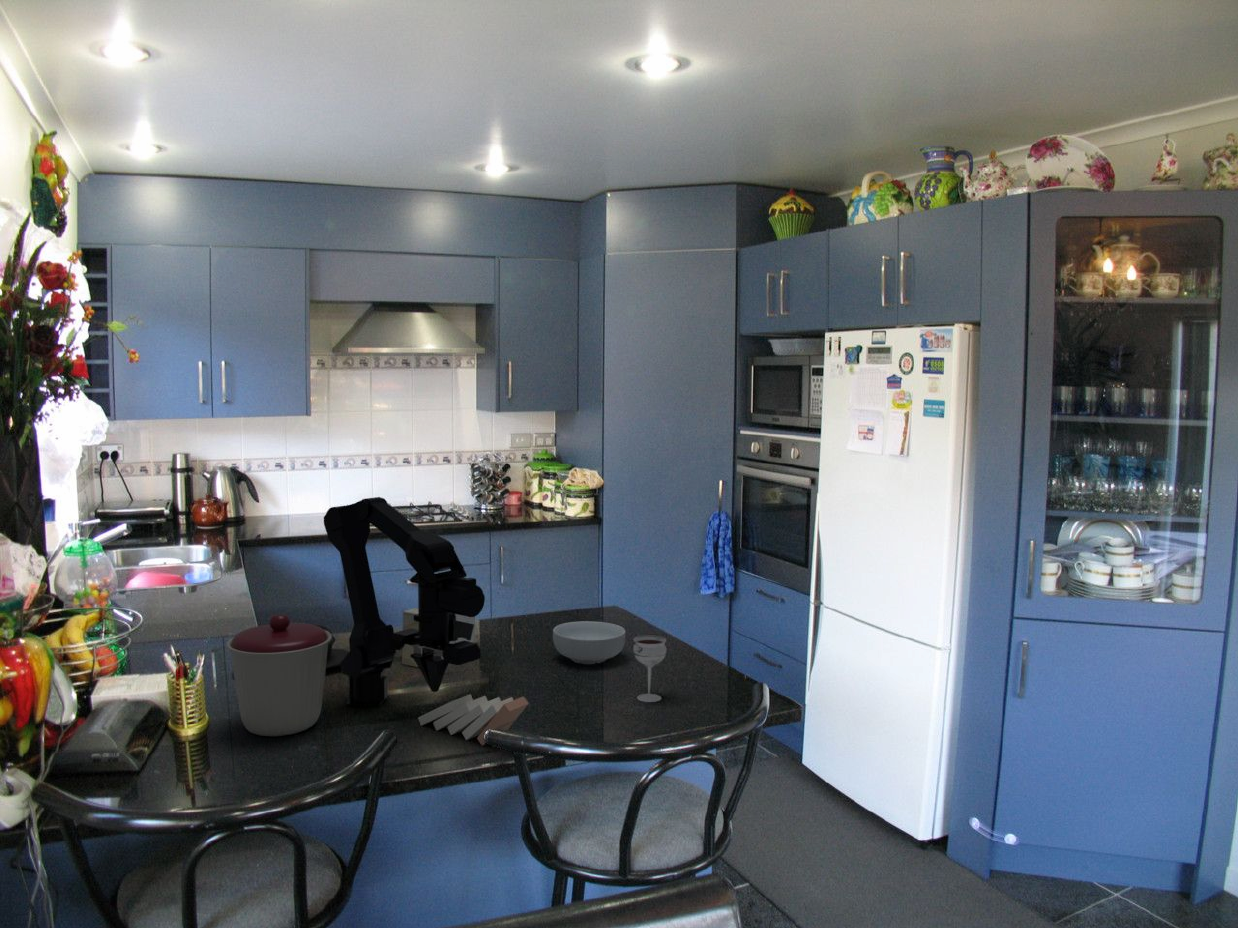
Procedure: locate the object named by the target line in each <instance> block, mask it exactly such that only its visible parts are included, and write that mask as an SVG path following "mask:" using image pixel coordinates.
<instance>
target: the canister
mask: <svg viewBox="0 0 1238 928" xmlns="http://www.w3.org/2000/svg"><path fill="white" fill-rule="evenodd" d="M290 619H291V618H290V617H289V616H288V615H287V614H285V613H276V614H273V615H272V616H270V618H269V622H268V623H269V624H268V623H267V624H262V625H257V626H254V627H253V626H252V627H250V628H247V629H244V630H242V631H240V632H238V633H237V634H236V635H235V636H233V637H231V638H230V639H228V641H227V642H226V645H225V646H226V648H227V650H228V651H229V652H230V656H231V663H232V664H231V665H232V669H233V678H234V686H235V692H236V697H237V703H238V708H239V709H238V710H239V714H240V720H241V722H242V724H243V726H244V728H245V729H246V730H247V731H248V732H250V733H251V734H254V735H257V736H261V737H262V736H263V737H264V736H265V737H282V736H288V735H289V736H290V735H292V734H293V735H294V734H297V733H301V732H303V731H306V730H308V729H309V728H311V727H312V726H313V725H315V724H316V723H317V722H318V719H319V717H320V715H321V711H322V705H323V698H324V691H325V690H324V689H325V681H326V680H325V679H326V661H327V649H328V643H329V642H330V641H331V639H332V636H333V634H332V635H331V634H330V633H329V632H328V631H326V630H323V629H322V628H320V627H318V626H315V625H316V624H310V623H304V622H290V621H291V620H290Z"/></svg>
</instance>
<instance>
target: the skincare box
mask: <svg viewBox="0 0 1238 928" xmlns="http://www.w3.org/2000/svg"><path fill="white" fill-rule="evenodd" d="M416 614H418V607H411V608H409V609H405V610H402V630H406V629H410V628H413V629H417V630H419V622H418V621H414V615H416ZM401 652H402V653H401V659H402V660H401V664H403V665H406V666H409V667H410V666H411V667H414V668H415V667H416V668H419V667H418V665H417V664H416V662H415V661H414V659H413V658H411V656H410V655H411V654H414V649H413V646H412V645H408V644H405V645H404V647H403V649H402V650H401Z"/></svg>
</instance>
